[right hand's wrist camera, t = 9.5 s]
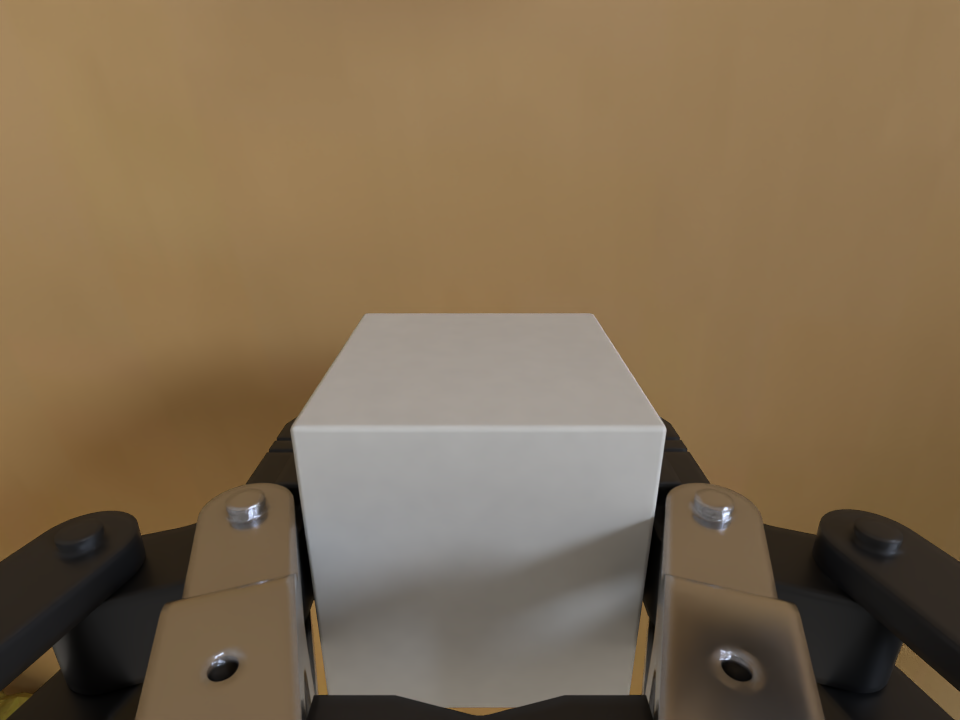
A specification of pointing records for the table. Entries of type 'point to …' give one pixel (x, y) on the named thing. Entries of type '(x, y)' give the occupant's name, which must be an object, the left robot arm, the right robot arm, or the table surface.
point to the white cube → (478, 508)
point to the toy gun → (11, 703)
